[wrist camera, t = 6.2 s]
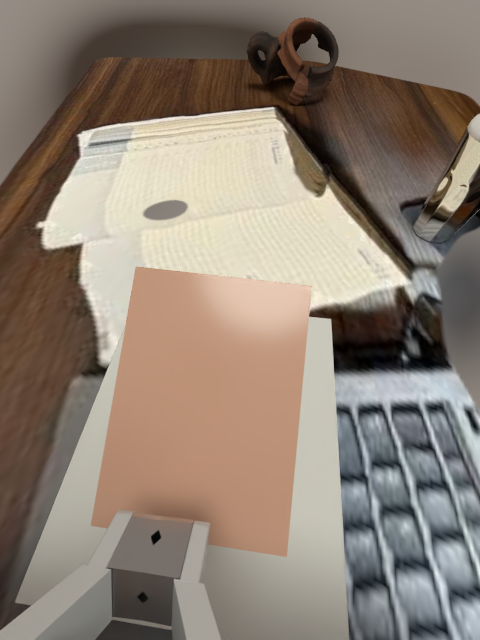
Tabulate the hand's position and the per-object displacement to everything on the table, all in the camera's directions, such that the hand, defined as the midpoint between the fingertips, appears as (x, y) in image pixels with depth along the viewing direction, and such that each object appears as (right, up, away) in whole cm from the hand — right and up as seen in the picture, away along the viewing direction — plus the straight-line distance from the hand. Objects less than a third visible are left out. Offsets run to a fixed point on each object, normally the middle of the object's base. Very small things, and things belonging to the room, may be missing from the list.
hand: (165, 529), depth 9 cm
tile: (0, -2, +3) cm, 4 cm away
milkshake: (+20, +15, +16) cm, 29 cm away
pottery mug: (+9, +40, +31) cm, 52 cm away
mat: (+1, +1, +7) cm, 7 cm away
